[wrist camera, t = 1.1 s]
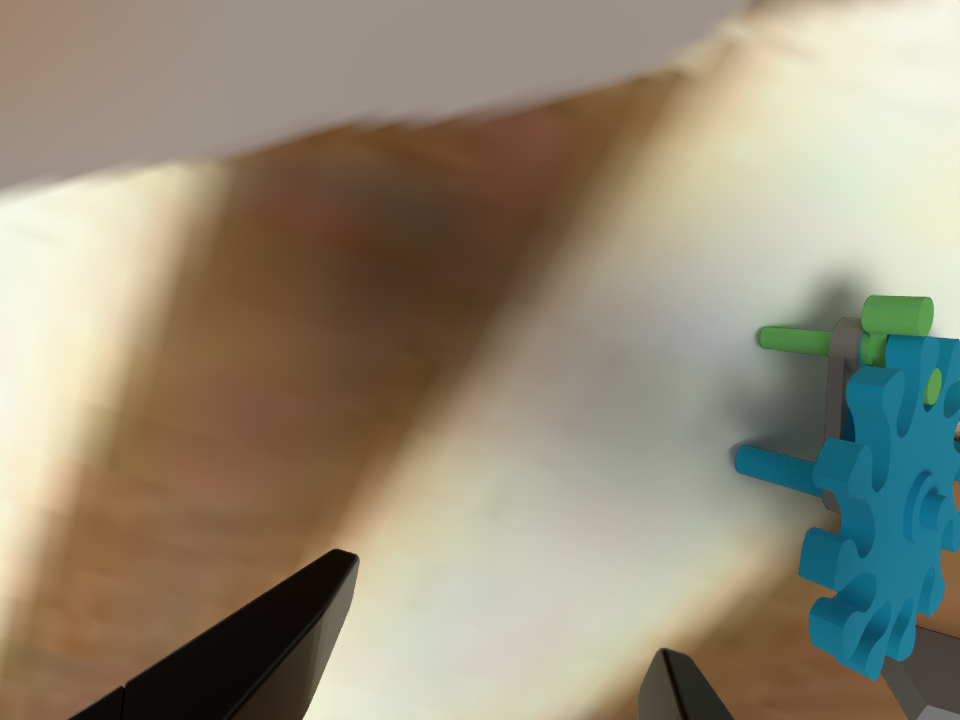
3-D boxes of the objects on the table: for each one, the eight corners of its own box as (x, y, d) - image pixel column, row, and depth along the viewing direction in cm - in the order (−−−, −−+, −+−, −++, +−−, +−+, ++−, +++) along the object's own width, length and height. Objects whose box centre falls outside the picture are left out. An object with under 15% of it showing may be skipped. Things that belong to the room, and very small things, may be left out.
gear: (985, 602, 20) (852, 767, 14) (806, 539, 25) (654, 644, 19) (1021, 277, 18) (881, 322, 12) (817, 276, 22) (649, 308, 17)
